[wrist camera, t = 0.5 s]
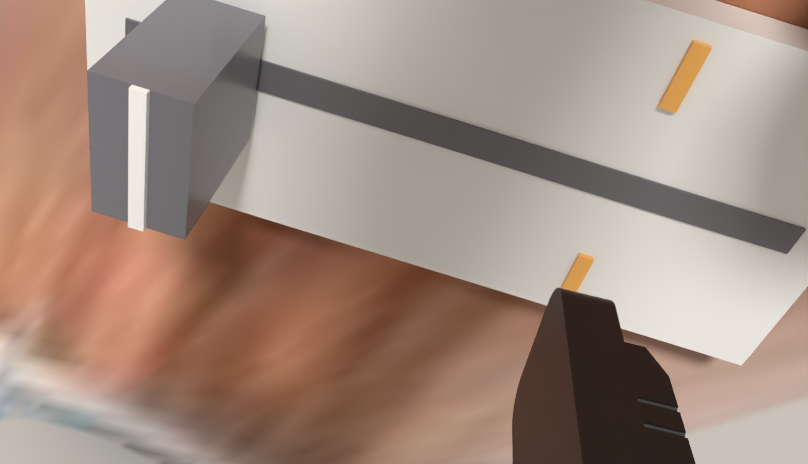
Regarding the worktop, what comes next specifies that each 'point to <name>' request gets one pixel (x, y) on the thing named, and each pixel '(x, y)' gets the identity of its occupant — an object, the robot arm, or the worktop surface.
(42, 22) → the worktop surface
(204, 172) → the fader cap
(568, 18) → the console board
